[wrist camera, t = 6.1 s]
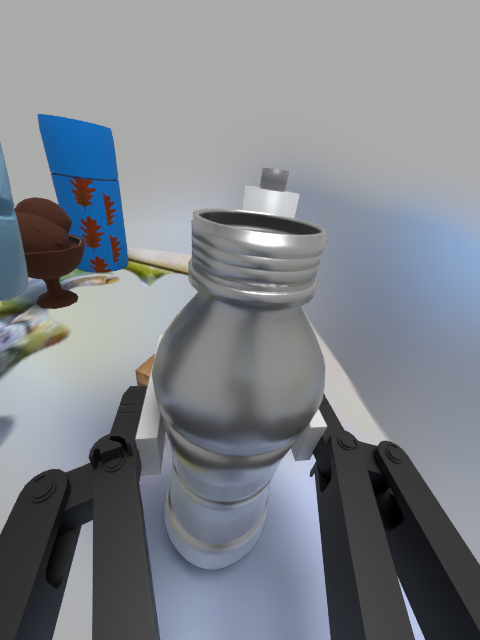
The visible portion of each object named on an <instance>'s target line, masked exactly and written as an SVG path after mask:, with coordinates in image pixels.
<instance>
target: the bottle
mask: <svg viewBox="0 0 480 640" xmlns="http://www.w3.org/2000/svg"><path fill="white" fill-rule="evenodd" d="M288 175H289V172H288V171H283V170H277V169H270V168H263V169H262V176H261V183H260V187H253V186H245V192H244V201H243V209H242V210H245V211H254V212H262V213H269V214H275V215H280V216H285V217H290V218H294V216H295V212H296V207H297V203H298V199H299V194H297V193H292V192H287V191H285V190H286V184H287V180H288Z"/></svg>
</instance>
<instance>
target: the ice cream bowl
mask: <svg viewBox="0 0 480 640" xmlns="http://www.w3.org/2000/svg"><path fill="white" fill-rule="evenodd" d="M14 210H15V213H16V217H17V221H18V225H19V230H20V234H21V239H22V244H23V249H24V254H25V260H26V266H27V273H28V277H30V278H35V279H43V281H44V282H45V283H46V286H47V289H48V291H47V292H46V293H44V294H42V295H41V296H39V298H38V300H37V305H38V306H40V307H42V308H50V309H57V308H61V307H66V306H70V305H71V304H73V303H75V302H77V300H78V296H77V294H75V293H73V292H71V291H68V290H64V289H62V288H61V285H60V282H59V279H60V277H62V276H64V275H67V274H69V273H70V272H72V271H73V270H75V268H76V267H77V266H78V265H79V264H80V263H81V260H82V256H83V253H84V249H85V239H83V238H80V237H78V236H75V235H72V234H69V231H70V228H71V224H72V220H71V219H70V217H69V216H68V215H67V213H66V212H65V211H64V210H63V209H62V208H61V207H60V206H59V205H58V204H56V203H54V202H52V201H50V200H47V199H43V198H29V199H25V200H23V201H21V202H20V203H18V205H17V206H16V208H15V209H14Z"/></svg>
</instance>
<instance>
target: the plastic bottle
mask: <svg viewBox="0 0 480 640" xmlns="http://www.w3.org/2000/svg"><path fill="white" fill-rule="evenodd" d="M326 235H327V230H326V229H325V228H323V227H320V226H319V225H316V224H313V223H310V222H307V221H303V220H299V219H295V218H290V217H285V216H280V215H275V214H269V213H262V212H254V211H245V210H233V209H202V210H197V211H195V212H193V220H192V258H191V259H190V261H189V281H190V283H191V285H192V286H193V287H194V288H195V289H196V290H197V291H198V293H197V294H196V295H195V297H193V298H192V299H191V301H190V302H189V303H188V304H187V305H186V306H185V307H184V308H183V309H182V310H181V311H180V313H179V314H178V315H177V316H176V317H175V319H174V320H173V322H172V323H171V324H170V326H169V327H168V329H167V330H166V331H165V333H164V334H163V336H162V338H161V341H160V343H159V345H158V349H157V352H156V355H155V358H154V361H153V368H152V380H153V386H154V391H155V395H156V401H157V405H158V407H159V411H160V414H161V417H162V420H163V423H164V426H165V428H166V431H167V434H168V437H169V440H170V446H171V452H172V459H173V468H172V477H171V479H170V482H169V486H168V490H167V495H166V500H165V510H164V517H165V524H166V529H167V532H168V535H169V538H170V540H171V541H172V543H173V545H174V546H175V548H176V550H177V551H178V552H179V553H180V554H181V555H182V556H183V557H184V558H185V559H186V560H187V561H188V562H190V563H192V564H193V565H195V566H197V567H200V568H204V569H220V568H224V567H227V566H229V565H231V564H233V563H235V562H237V561H239V560H240V559H242V558H243V557H244V556H245V555H246V554H247V553H249V552H250V551H251V549H252V548H253V547H254V545H255V544H256V543H257V541H258V539H259V537H260V535H261V533H262V531H263V528H264V524H265V520H266V515H267V507H268V491H269V486H270V482H271V479H272V477H273V475H274V473H275V471H276V469H277V467H278V465H279V463H280V461H281V460H282V459H283V457H284V456H285V455H286V453H287V452H288V451H289V450H290V448H291V447H292V446H293V445H294V443H295V442H296V441H297V439H298V438H299V437H300V436H301V434H302V433H303V432H304V430H305V429H306V428H307V427H308V426H309V424H310V422H311V420H312V419H313V417H314V415H315V414H316V412H317V410H318V408H319V406H320V404H321V402H322V400H323V394H324V387H325V364H324V357H323V354H322V352H321V349H320V346H319V344H318V341H317V338H316V335H315V333H314V331H313V329H312V327H311V325H310V323H309V321H308V319H307V317H306V315H305V313H304V311H303V309H302V305H304V304H306V303H309V301H311V300H312V299H313V297H314V294H315V291H316V288H317V284H318V277H317V271H318V268H319V264H320V261H321V258H322V254H323V251H324V247H325V244H326V241H327V240H326Z"/></svg>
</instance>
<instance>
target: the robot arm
mask: <svg viewBox="0 0 480 640" xmlns="http://www.w3.org/2000/svg"><path fill="white" fill-rule="evenodd" d="M27 283H28V273H27V266H26V260H25V254H24V249H23V244H22V239H21V234H20V230H19V225H18V221H17V217H16V213H15V210H14V203H13V199H12V194H11V187H10V183H9V178H8V173H7V169H6V164H5V160H4V156H3V152H2V148H1V144H0V301H4V300H9V299H12V298H15V297H17V296H18V295H20V294H21V293H22V292H23V291H24V290H25V288H26V286H27ZM162 336H163V334H161V335H160V336H159V340H158V344H157V349H158V345H159V343H160V341H161V338H162ZM157 349H156V352H157ZM155 355H156V353H155ZM154 358H155V357H154ZM152 368H153V366H152ZM165 434H166V428H165V426H164V423H163V420H162V417H161V414H160V411H159V407H158V405H157V401H156V395H155V391H154V386H153V380H152V370H151V374H150V379H149V383H148V386H130V387H129V388H128V390H127V391H126V392H125V393H124V394H123V396H122V399H121V402H120V406H119V409H118V411H117V415H116V417H115V420H114V423H113V426H112V430H111V433H110V434H108V435H106V436H104V437H102V438H101V439H99V440H98V441H97V442H96V443H95V444H94V446H93V447H92V449H91V450H90V454H89V459H90V463H88V464H86V465H84V466H82V467H79V468H76V469H74V470H71V471H68V472H66V473H65V472H63V471H62V470H60V469H51V470H48V471H44V472H42V473H41V474H39V475H37V476H35V477H34V478H33V479H32V480H30V481H29V482H28V483H27V484H26V485H25V487H24V488H23V490H22V491H21V493H20V494H19V496H18V498H17V501H16V503H15V505H14V507H13V509H12V511H11V513H10V515H9V518H8V520H7V522H6V524H5V526H4V528H3V530H2V532H1V534H0V640H52V638H53V634H54V630H55V626H56V622H57V618H58V615H59V611H60V607H61V603H62V599H63V595H64V591H65V588H66V584H67V580H68V576H69V572H70V568H71V564H72V561H73V557H74V552H75V549H76V545H77V541H78V537H79V533H80V530H81V526H82V525H83V524H85V523H87V522H89V521H91V520H93V621H92V622H93V623H92V626H93V627H92V640H160V636H159V628H158V621H157V613H156V605H155V598H154V590H153V583H152V575H151V568H150V560H149V553H148V545H147V537H146V530H145V522H144V515H143V507H142V500H141V492H140V485H139V481H140V475H141V472H142V476H143V475H153V474H161V466H162V458H163V450H164V442H165ZM291 450H292V453H293V456H294V459H295V461H301V460H310V458H311V456H312V454H314V457H315V459H316V462H315V464H314V466H313V468H312V469H311V471H310V477H312V476H313V474H314V473H315V482H316V492H317V502H318V512H319V523H320V533H321V543H322V553H323V564H324V574H325V584H326V594H327V605H328V615H329V625H330V635H331V640H415V638H414V634H413V631H412V627H411V624H410V620H409V617H408V613H407V609H406V606H405V602H404V599H403V595H402V592H401V588H400V585H399V581H398V578H399V580H400V583H401V585H402V587H403V590H404V592H405V594H406V597H407V599H408V601H409V603H410V606H411V608H412V610H413V613H414V615H415V617H416V619H417V622H418V624H419V626H420V629H421V631H422V633H423V635H424V638H425V640H480V565H479V563H478V562H477V560H476V559H475V557H474V556H473V554H472V553H471V551H470V550H469V548H468V547H467V545H466V544H465V542H464V541H463V539H462V538H461V536H460V534H459V533H458V531H457V530H456V528H455V527H454V525H453V524H452V522H451V521H450V519H449V518H448V516H447V515H446V513H445V512H444V510H443V509H442V507H441V506H440V504H439V502H438V501H437V499H436V498H435V496H434V495H433V493H432V492H431V490H430V489H429V487H428V486H427V484H426V483H425V481H424V480H423V478H422V477H421V475H420V474H419V472H418V471H417V469H416V468H415V466H414V465H413V463H412V461H411V460H410V458H409V457H408V456H407V454H406V453H405V452H404V450H403V449H401V448H400V447H399V446H398V445H396V444H394V443H392V442H389V441H382V442H380V443H379V445H378V446H375V445H371V444H367V443H364V442H360V441H358V440H357V439H356V438H355V437H354V436H353V435H352V434H351V433H349V432H347V431H345V430H344V428H343V427H342V425H341V423H340V422H339V420H338V418H337V416H336V414H335V413H334V411H333V409H332V407H331V405H330V404H329V402H328V400H327V398H325V395H324V394H323V400H322V402H321V404H320V406H319V408H318V410H317V412H316V414H315V415H314V417H313V419H312V420H311V422H310V424H309V426H308V427H307V428H306V429H305V430H304V432H303V433H302V434H301V436H300V437H299V438H298V439H297V441H296V442H295V443H294V445H293V446H292V447H291ZM397 576H398V577H397Z"/></svg>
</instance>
